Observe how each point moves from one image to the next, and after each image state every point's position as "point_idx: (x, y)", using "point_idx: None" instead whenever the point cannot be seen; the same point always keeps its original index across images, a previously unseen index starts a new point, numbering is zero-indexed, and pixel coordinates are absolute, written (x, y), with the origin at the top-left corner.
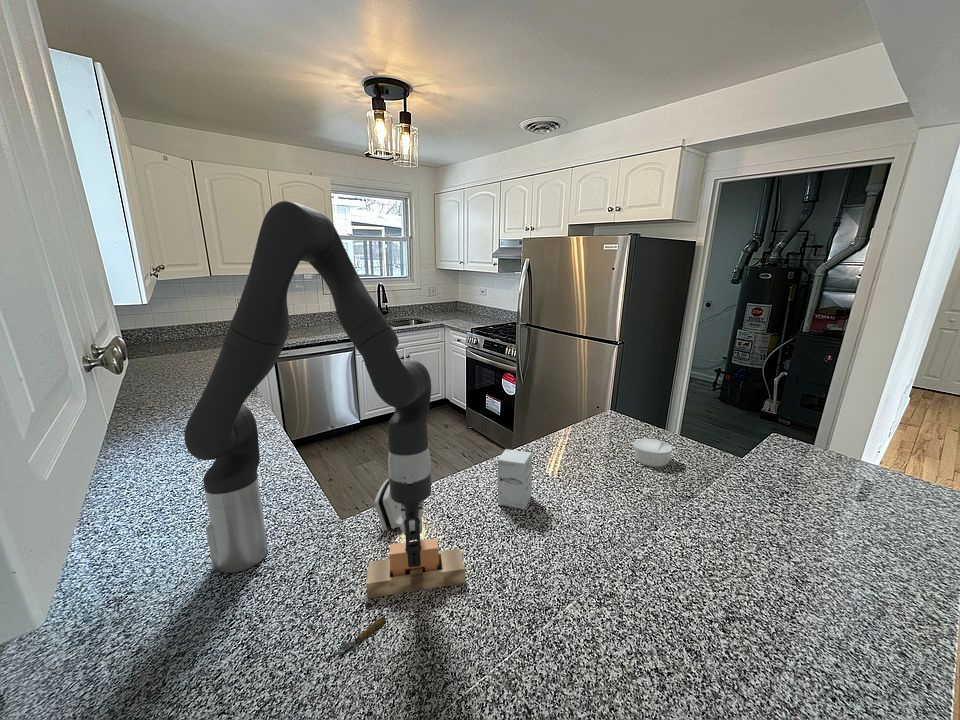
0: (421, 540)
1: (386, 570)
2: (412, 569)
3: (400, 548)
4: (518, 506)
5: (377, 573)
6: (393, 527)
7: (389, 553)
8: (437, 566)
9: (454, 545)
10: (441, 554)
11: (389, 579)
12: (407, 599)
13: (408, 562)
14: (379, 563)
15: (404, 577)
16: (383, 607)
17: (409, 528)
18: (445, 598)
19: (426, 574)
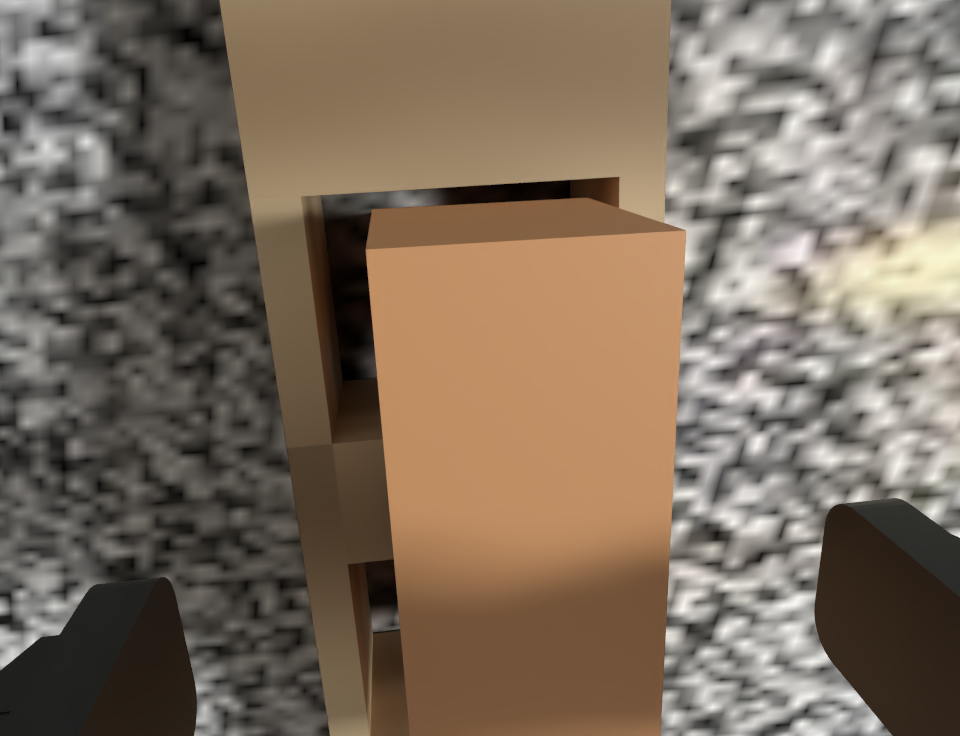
0: (657, 726)
1: (440, 141)
2: None
3: (519, 438)
4: None
5: (398, 14)
6: None
7: (395, 251)
8: None
9: (811, 689)
10: None
11: (264, 200)
12: (208, 355)
13: (71, 631)
14: (601, 21)
15: (286, 382)
16: (109, 127)
17: (951, 621)
18: (204, 654)
19: (312, 605)
